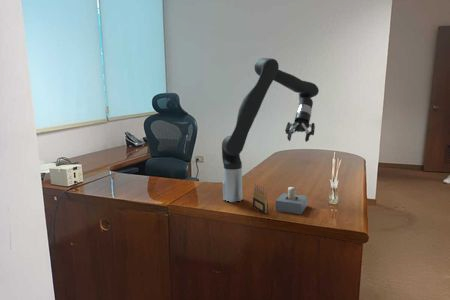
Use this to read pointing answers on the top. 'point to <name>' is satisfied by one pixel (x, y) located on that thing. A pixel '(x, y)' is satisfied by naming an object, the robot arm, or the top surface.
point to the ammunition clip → (260, 199)
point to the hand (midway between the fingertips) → (297, 140)
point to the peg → (292, 193)
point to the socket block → (291, 204)
